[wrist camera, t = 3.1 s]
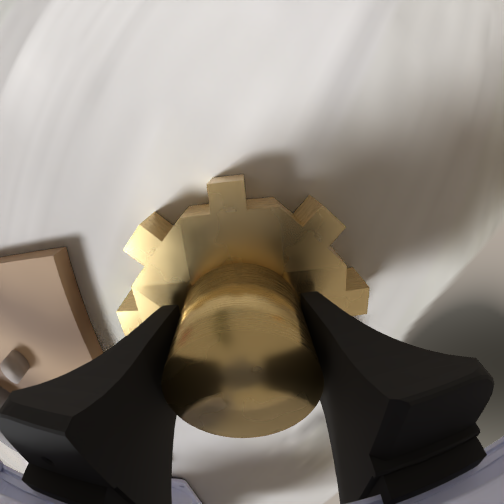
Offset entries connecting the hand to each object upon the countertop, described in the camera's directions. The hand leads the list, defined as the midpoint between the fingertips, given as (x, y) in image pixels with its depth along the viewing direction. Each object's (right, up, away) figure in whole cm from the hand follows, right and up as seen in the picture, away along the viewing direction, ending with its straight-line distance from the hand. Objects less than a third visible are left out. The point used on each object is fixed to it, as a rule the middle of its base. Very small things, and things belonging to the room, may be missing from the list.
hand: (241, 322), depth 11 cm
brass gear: (0, +1, +2) cm, 2 cm away
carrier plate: (-16, -6, +4) cm, 18 cm away
